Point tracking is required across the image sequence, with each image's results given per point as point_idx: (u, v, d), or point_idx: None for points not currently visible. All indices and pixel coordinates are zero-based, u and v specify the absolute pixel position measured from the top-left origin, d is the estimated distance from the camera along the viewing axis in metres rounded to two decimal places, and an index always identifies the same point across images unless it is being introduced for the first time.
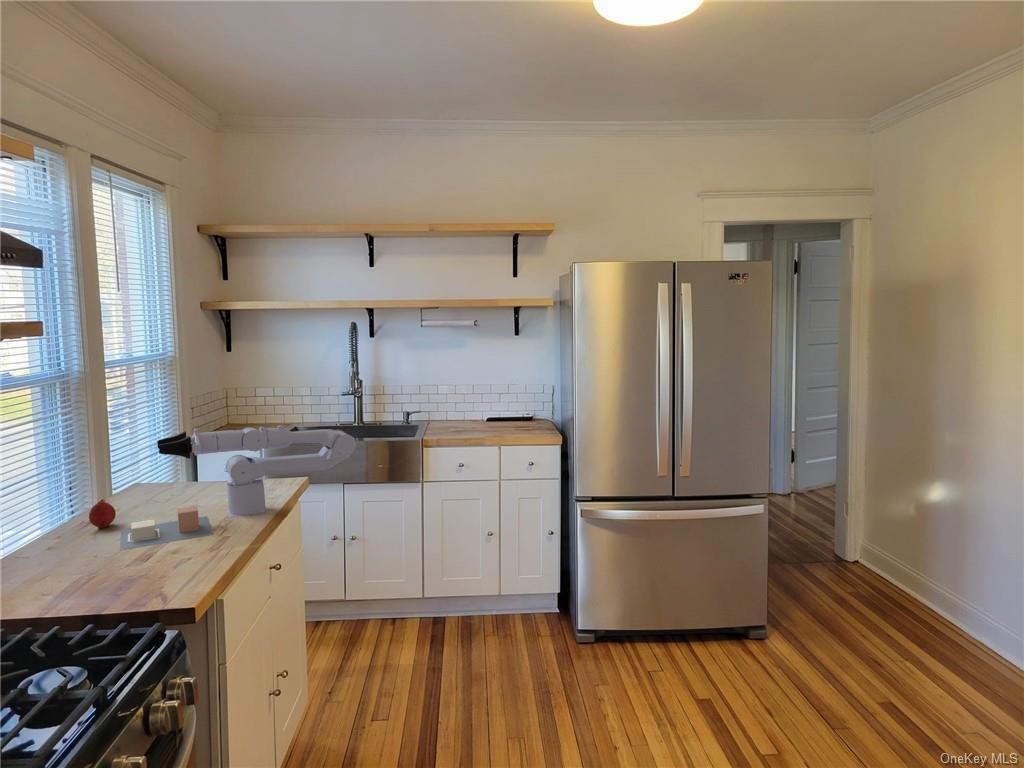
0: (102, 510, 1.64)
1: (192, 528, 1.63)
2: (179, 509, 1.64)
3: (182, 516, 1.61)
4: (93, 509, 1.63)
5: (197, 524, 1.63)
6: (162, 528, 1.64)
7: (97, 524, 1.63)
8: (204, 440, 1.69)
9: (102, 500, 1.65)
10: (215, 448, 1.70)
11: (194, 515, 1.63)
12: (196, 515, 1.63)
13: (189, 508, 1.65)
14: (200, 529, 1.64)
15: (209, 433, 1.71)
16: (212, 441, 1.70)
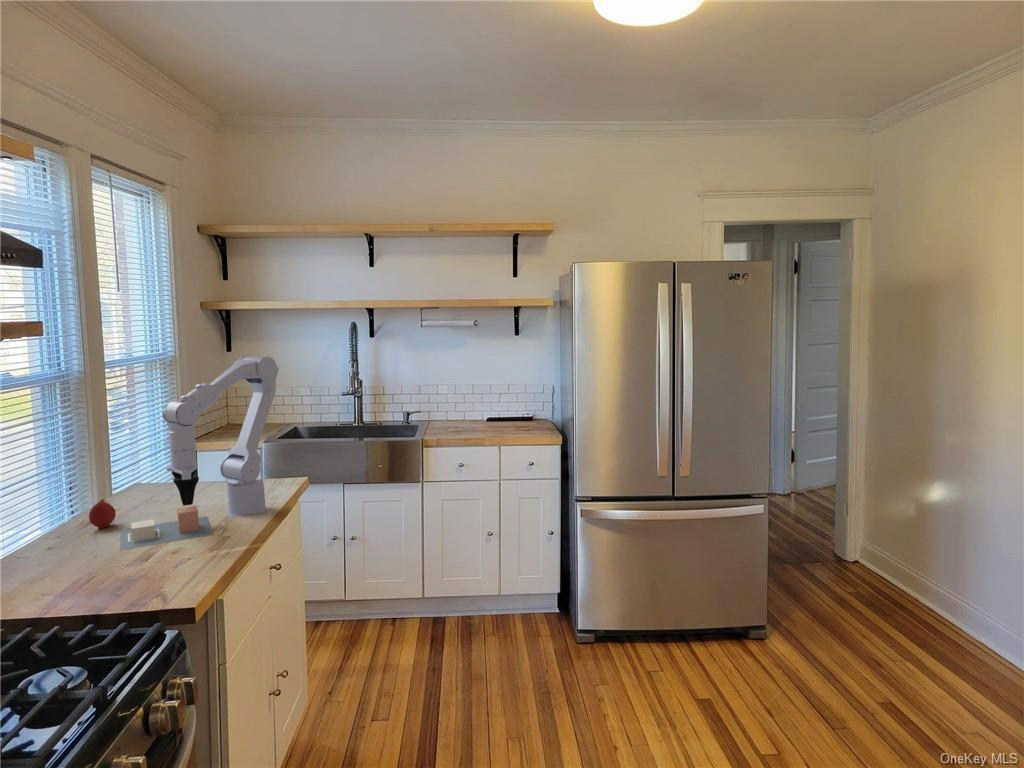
0: (102, 510, 1.64)
1: (192, 528, 1.63)
2: (179, 509, 1.64)
3: (182, 516, 1.61)
4: (93, 509, 1.63)
5: (197, 524, 1.63)
6: (162, 528, 1.64)
7: (97, 524, 1.63)
8: (179, 463, 1.59)
9: (102, 500, 1.65)
10: (189, 451, 1.60)
11: (194, 515, 1.63)
12: (196, 515, 1.63)
13: (189, 508, 1.65)
14: (200, 529, 1.64)
15: (172, 456, 1.60)
16: (180, 455, 1.59)
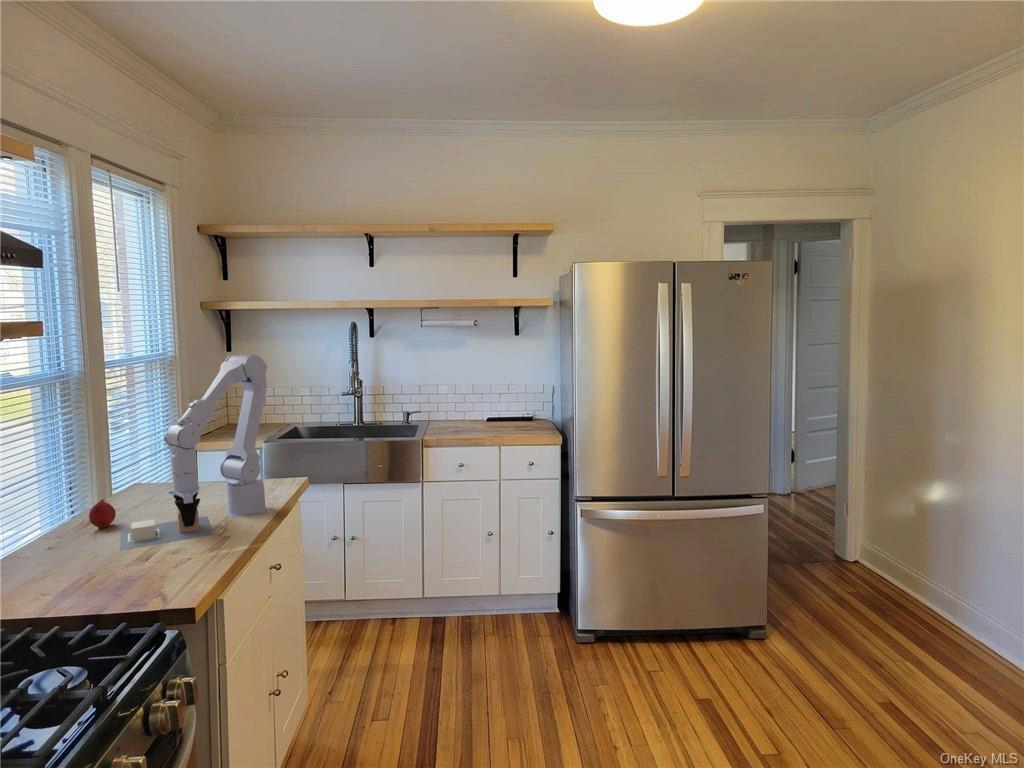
0: (102, 510, 1.64)
1: (192, 528, 1.63)
2: None
3: None
4: (93, 509, 1.63)
5: (197, 524, 1.63)
6: (162, 528, 1.64)
7: (97, 524, 1.63)
8: (180, 486, 1.60)
9: (102, 500, 1.65)
10: (191, 474, 1.61)
11: None
12: (196, 515, 1.63)
13: None
14: (200, 529, 1.64)
15: (173, 479, 1.60)
16: (182, 478, 1.60)
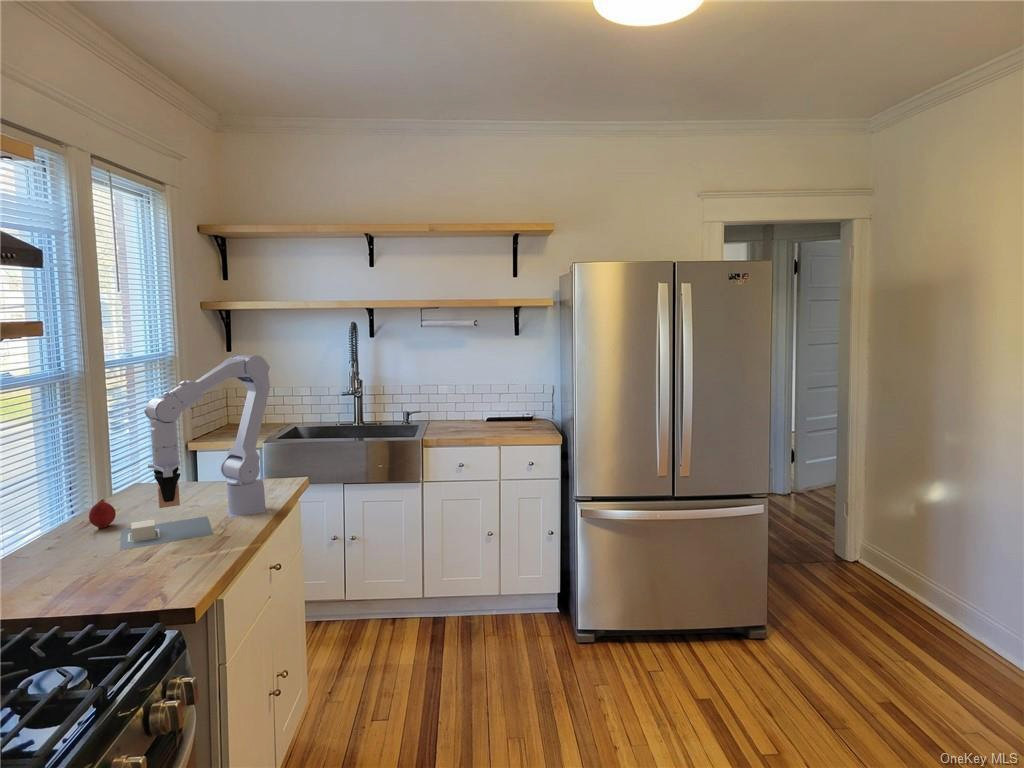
0: (102, 510, 1.64)
1: (173, 504, 1.60)
2: None
3: None
4: (93, 509, 1.63)
5: (178, 500, 1.60)
6: (162, 528, 1.64)
7: (97, 524, 1.63)
8: (160, 460, 1.57)
9: (102, 500, 1.65)
10: (171, 448, 1.58)
11: None
12: (177, 491, 1.60)
13: None
14: (200, 529, 1.64)
15: (153, 453, 1.58)
16: (162, 452, 1.57)
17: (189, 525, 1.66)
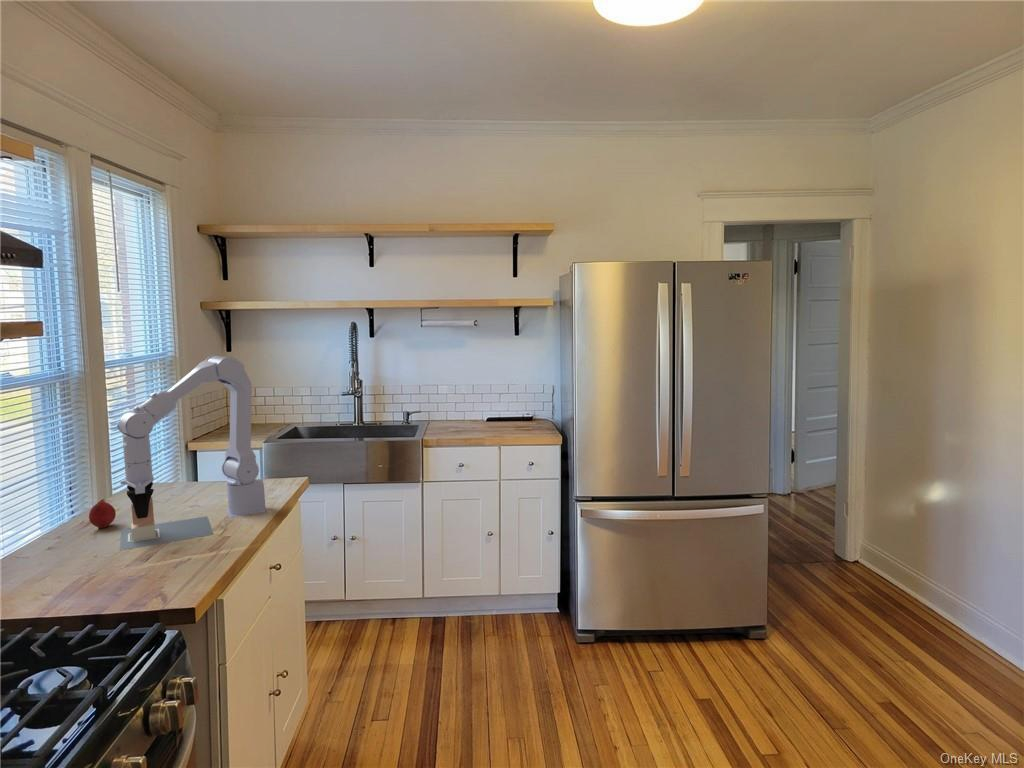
0: (102, 510, 1.64)
1: (147, 520, 1.57)
2: None
3: None
4: (93, 509, 1.63)
5: (152, 516, 1.58)
6: (162, 528, 1.64)
7: (97, 524, 1.63)
8: (133, 476, 1.54)
9: (102, 500, 1.65)
10: (144, 464, 1.55)
11: None
12: (151, 507, 1.57)
13: None
14: (200, 529, 1.64)
15: (125, 469, 1.55)
16: (135, 468, 1.54)
17: (189, 525, 1.66)
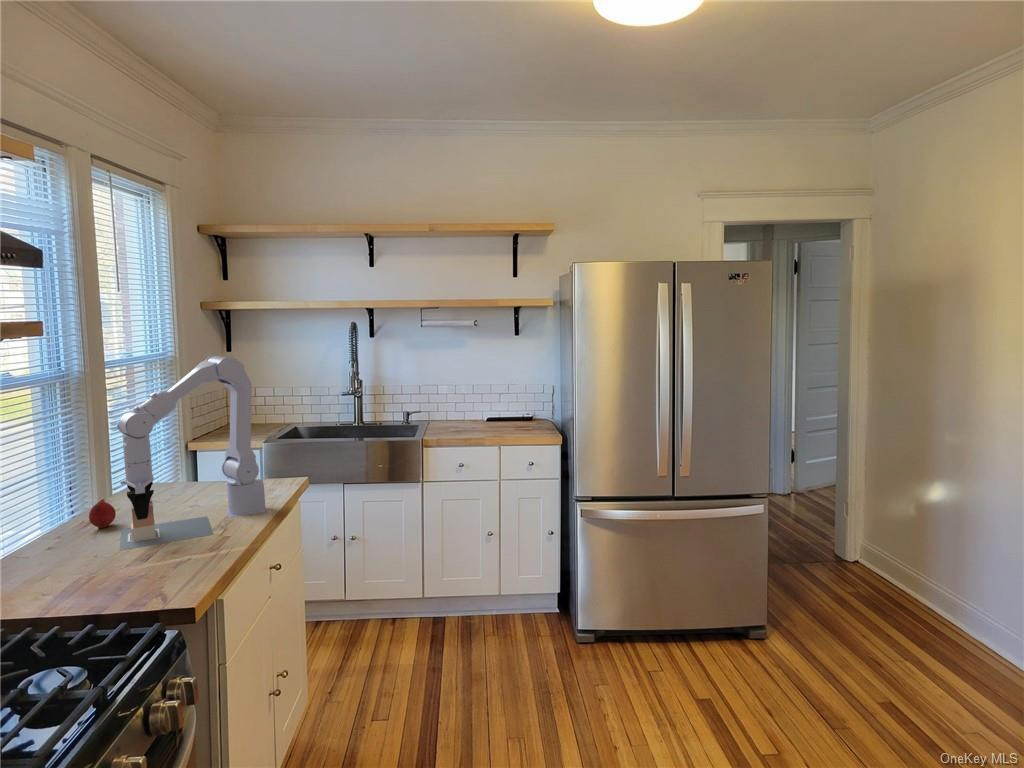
0: (102, 510, 1.64)
1: (147, 524, 1.57)
2: None
3: None
4: (93, 509, 1.63)
5: (152, 519, 1.58)
6: (162, 528, 1.64)
7: (97, 524, 1.63)
8: (133, 476, 1.54)
9: (102, 500, 1.65)
10: (144, 464, 1.55)
11: (149, 510, 1.57)
12: (151, 510, 1.58)
13: None
14: (200, 529, 1.64)
15: (125, 469, 1.55)
16: (135, 468, 1.54)
17: (189, 525, 1.66)
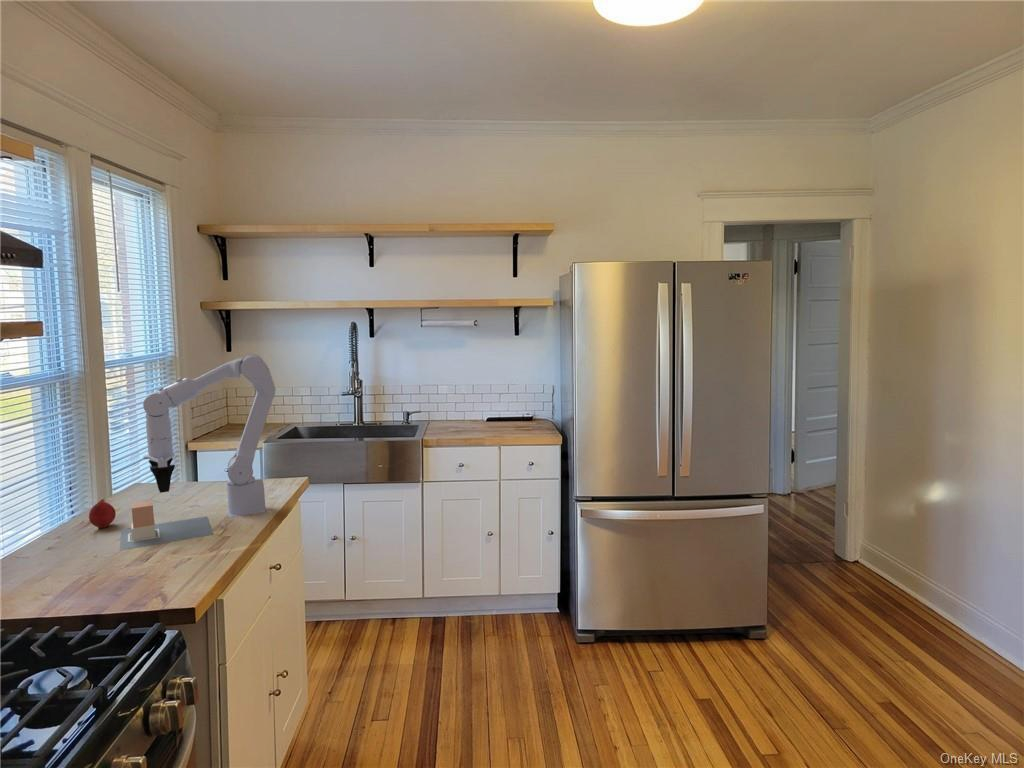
0: (102, 510, 1.64)
1: (147, 524, 1.57)
2: (134, 504, 1.58)
3: (136, 511, 1.56)
4: (93, 509, 1.63)
5: (152, 519, 1.58)
6: (162, 528, 1.64)
7: (97, 524, 1.63)
8: (155, 451, 1.65)
9: (102, 500, 1.65)
10: (165, 440, 1.66)
11: (149, 510, 1.57)
12: (151, 510, 1.58)
13: (144, 502, 1.60)
14: (200, 529, 1.64)
15: (148, 445, 1.66)
16: (157, 444, 1.65)
17: (189, 525, 1.66)
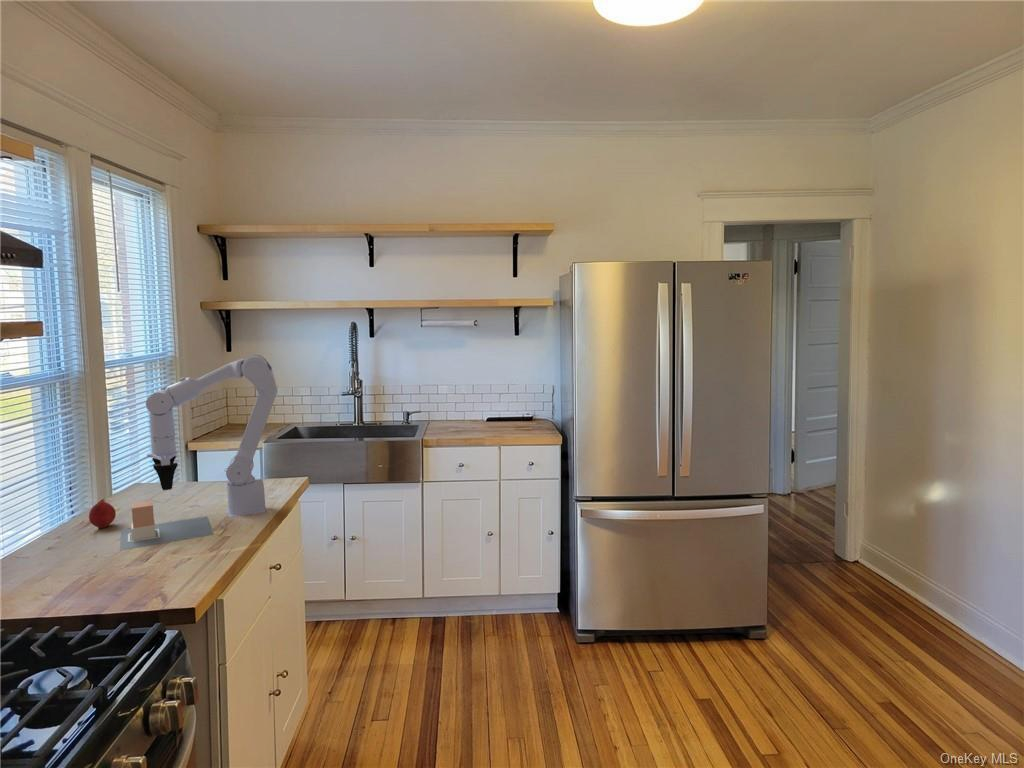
0: (102, 510, 1.64)
1: (147, 524, 1.57)
2: (134, 504, 1.58)
3: (136, 511, 1.56)
4: (93, 509, 1.63)
5: (152, 519, 1.58)
6: (162, 528, 1.64)
7: (97, 524, 1.63)
8: (158, 449, 1.67)
9: (102, 500, 1.65)
10: (168, 438, 1.68)
11: (149, 510, 1.57)
12: (151, 510, 1.58)
13: (144, 502, 1.60)
14: (200, 529, 1.64)
15: (152, 443, 1.68)
16: (160, 442, 1.67)
17: (189, 525, 1.66)
